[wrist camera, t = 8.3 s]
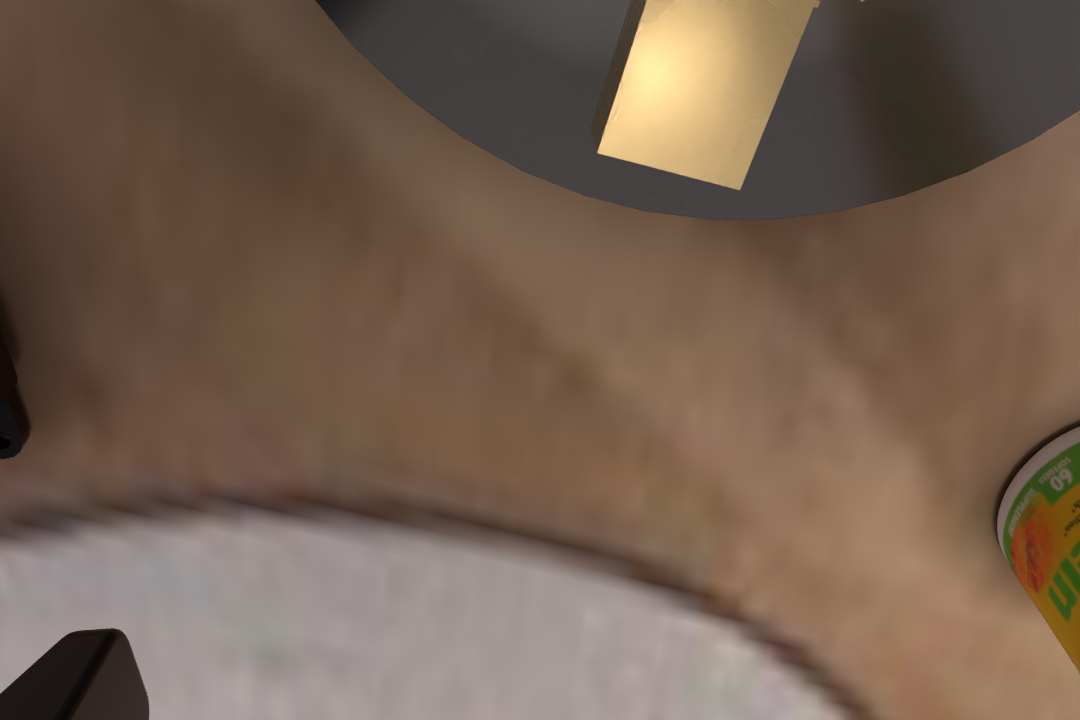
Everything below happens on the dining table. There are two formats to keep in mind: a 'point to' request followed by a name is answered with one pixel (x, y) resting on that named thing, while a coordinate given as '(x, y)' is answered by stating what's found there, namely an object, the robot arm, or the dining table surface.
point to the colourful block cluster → (697, 83)
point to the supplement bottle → (1048, 535)
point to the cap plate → (797, 116)
